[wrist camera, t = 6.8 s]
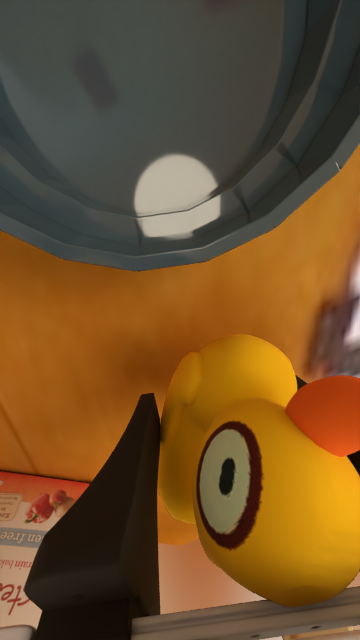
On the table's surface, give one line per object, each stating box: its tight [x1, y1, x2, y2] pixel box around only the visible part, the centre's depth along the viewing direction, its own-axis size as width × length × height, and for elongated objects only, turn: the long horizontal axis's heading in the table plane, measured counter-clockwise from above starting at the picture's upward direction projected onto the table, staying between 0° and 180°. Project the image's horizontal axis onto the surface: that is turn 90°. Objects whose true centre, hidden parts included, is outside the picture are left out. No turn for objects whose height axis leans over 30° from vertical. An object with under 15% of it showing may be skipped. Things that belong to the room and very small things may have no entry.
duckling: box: [157, 334, 360, 607], centre depth 10 cm, size 11×5×10 cm, turn 150°
